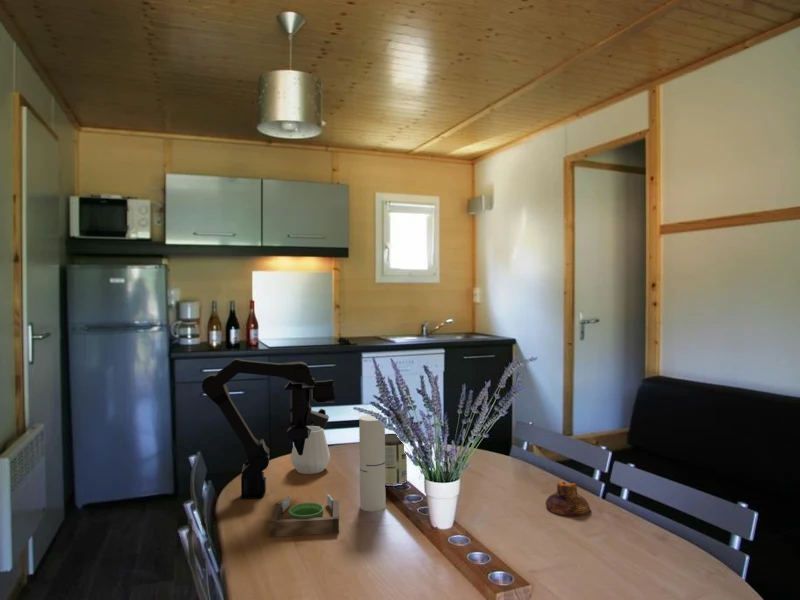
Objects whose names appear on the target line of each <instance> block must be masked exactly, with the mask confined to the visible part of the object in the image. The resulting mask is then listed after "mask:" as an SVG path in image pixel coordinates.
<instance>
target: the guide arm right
mask: <svg viewBox="0 0 800 600" xmlns="http://www.w3.org/2000/svg"><path fill="white" fill-rule="evenodd" d="M326 496H327V497H326V502H327V504H328V506H329V507H330V509H331V512H332V513H333V501H336V500H335V499H333V497H332V496H331V495H330V493H327V494H326Z"/></svg>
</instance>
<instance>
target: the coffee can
mask: <svg viewBox="0 0 800 600" xmlns="http://www.w3.org/2000/svg"><path fill="white" fill-rule="evenodd" d="M396 434H397V433H385V484H393V483H399V482H405V481H407V482H408V473H407V472H408V468H407V466H408V464H407V463H408V461H407V458H408V457H407V456H408V455H407V456H406V454H405V453H404V444H403V443H402V442H401V441H400V440H399V438H398V437H397V435H396Z"/></svg>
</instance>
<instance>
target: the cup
mask: <svg viewBox="0 0 800 600" xmlns="http://www.w3.org/2000/svg"><path fill="white" fill-rule="evenodd" d="M307 427H308V428H309V429H311V432H310V435H309V438H307V439H306V440H305V445H304V450H303V455H299V454H298V452H297V450H296V448H295V446H294V444H293V445H292V446H293V447H292V450H291V455H290V461H291V464H292V465H293V467H294V468H295V471H296V472H297V473H299V474H304V475H313V474H318V473H322V472H323V471H324V470H325V469H326V467H327V465H328V463H329V462H330V459H331V452H330V450H329V446H328V443H327V438H326V433H325V431H324V430H325V429H323V428H320V427H319V426H316V425H313V426H311V425H310V426H307Z"/></svg>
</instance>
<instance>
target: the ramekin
mask: <svg viewBox="0 0 800 600" xmlns="http://www.w3.org/2000/svg"><path fill="white" fill-rule="evenodd" d="M324 510H325V508H324V506H323V504H320V503H319V502H309V501H308V502H301V503H297V504H294V505H291V507H289V509H288V514H289V519H301V518H320V517H323V516H324Z"/></svg>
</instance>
